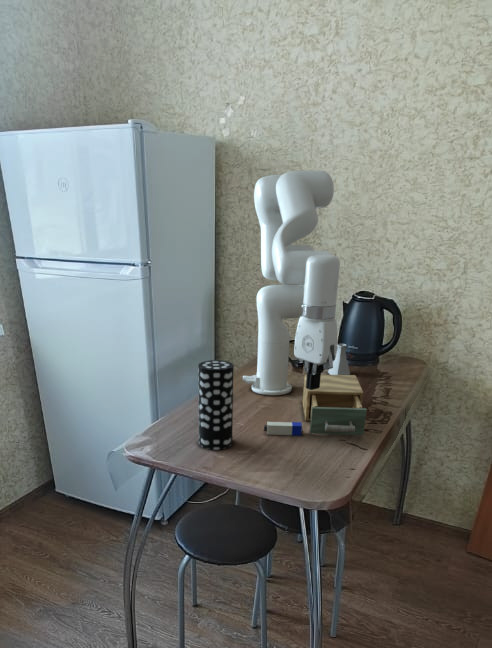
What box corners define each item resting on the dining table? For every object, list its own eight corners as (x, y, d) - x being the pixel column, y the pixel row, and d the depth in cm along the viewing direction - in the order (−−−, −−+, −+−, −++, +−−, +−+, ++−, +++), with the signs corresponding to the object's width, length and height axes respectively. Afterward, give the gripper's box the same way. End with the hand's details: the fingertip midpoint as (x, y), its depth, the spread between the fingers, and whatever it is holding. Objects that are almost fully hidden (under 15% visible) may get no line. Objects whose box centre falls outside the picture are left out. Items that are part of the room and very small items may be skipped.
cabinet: (359, 422, 156) (363, 392, 152) (305, 421, 157) (307, 390, 154) (352, 403, 170) (355, 375, 166) (302, 402, 171) (304, 374, 167)
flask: (323, 372, 198) (326, 343, 194) (341, 369, 201) (344, 341, 197) (336, 378, 192) (339, 348, 188) (354, 375, 195) (357, 345, 191)
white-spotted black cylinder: (230, 436, 148) (232, 359, 139) (233, 449, 141) (234, 369, 132) (198, 436, 148) (197, 360, 139) (199, 450, 140) (198, 370, 131)
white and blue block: (263, 434, 149) (264, 424, 148) (263, 430, 152) (264, 421, 150) (301, 435, 148) (301, 426, 147) (300, 431, 151) (301, 422, 149)
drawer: (366, 443, 141) (370, 417, 138) (311, 441, 142) (313, 415, 139) (356, 415, 159) (358, 391, 156) (307, 413, 160) (308, 390, 157)
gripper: (284, 309, 137) (280, 383, 145) (331, 319, 126) (324, 399, 134) (307, 305, 141) (302, 378, 149) (354, 315, 130) (346, 393, 138)
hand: (312, 388), depth 142 cm, fingers closed
